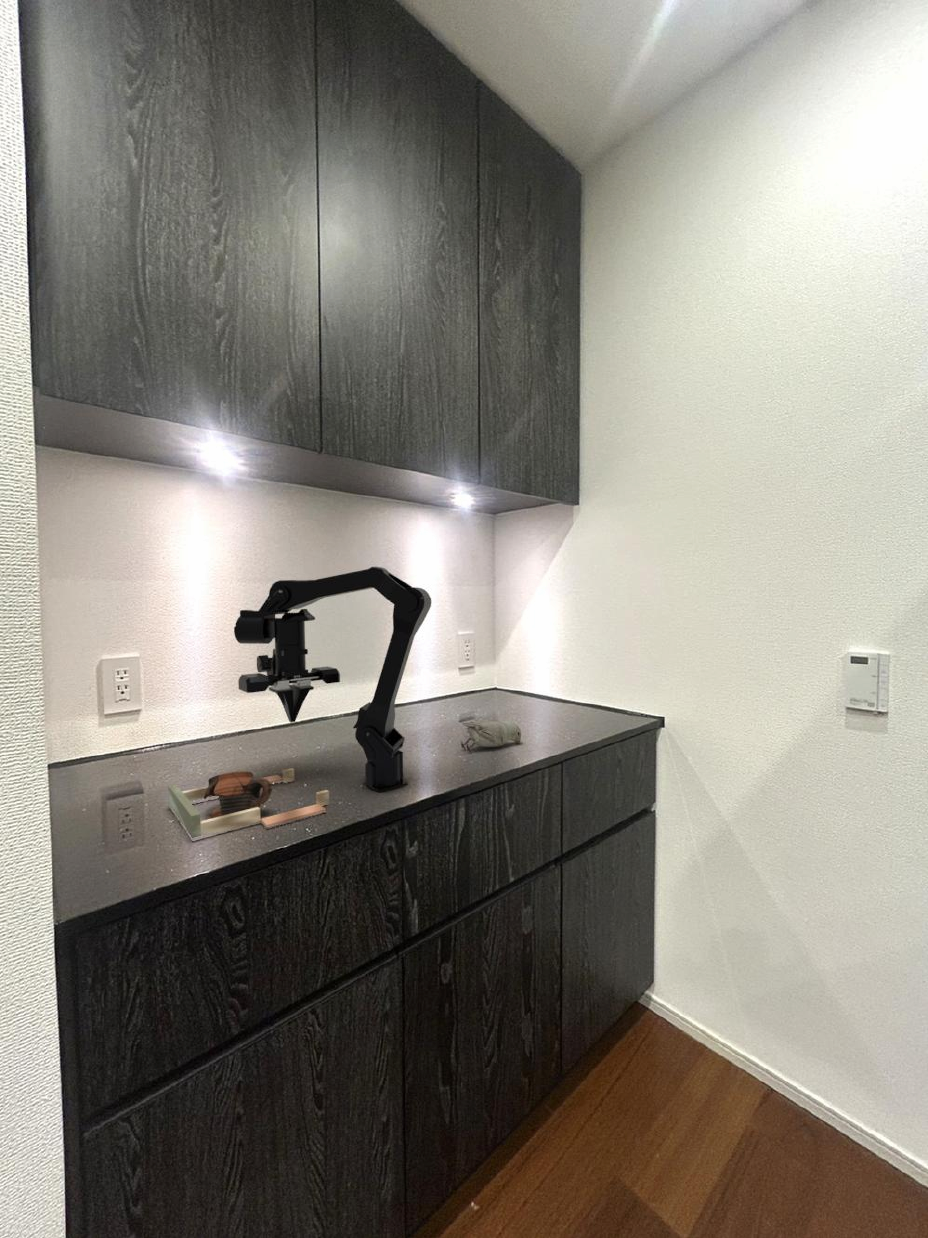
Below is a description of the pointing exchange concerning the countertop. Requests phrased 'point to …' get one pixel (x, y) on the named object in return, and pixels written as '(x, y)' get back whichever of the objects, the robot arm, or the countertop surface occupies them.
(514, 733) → the decorative bird
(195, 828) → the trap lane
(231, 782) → the pottery mug
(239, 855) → the countertop surface
